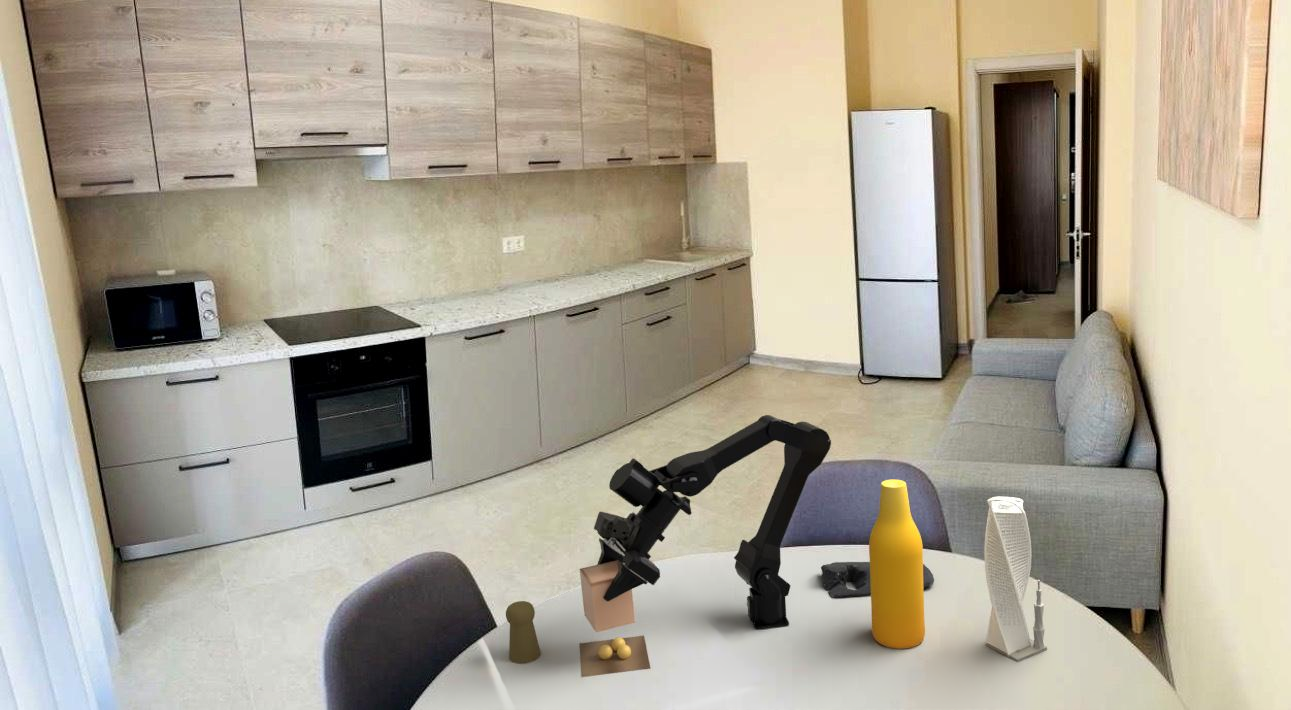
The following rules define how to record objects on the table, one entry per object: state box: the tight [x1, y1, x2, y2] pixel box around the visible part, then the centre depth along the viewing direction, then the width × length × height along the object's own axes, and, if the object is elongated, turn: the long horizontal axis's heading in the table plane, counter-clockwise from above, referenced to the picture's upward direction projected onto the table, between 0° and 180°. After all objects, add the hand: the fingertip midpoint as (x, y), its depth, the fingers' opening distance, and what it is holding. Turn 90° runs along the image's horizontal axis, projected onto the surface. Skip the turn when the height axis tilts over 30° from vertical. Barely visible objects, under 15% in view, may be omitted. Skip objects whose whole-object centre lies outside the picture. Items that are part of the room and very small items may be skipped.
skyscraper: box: [984, 496, 1048, 663], centre depth 163 cm, size 8×8×28 cm
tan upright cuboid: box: [579, 560, 636, 633], centre depth 170 cm, size 7×7×9 cm
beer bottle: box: [868, 479, 926, 650], centre depth 169 cm, size 9×9×29 cm
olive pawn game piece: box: [505, 600, 542, 665], centre depth 173 cm, size 6×6×11 cm
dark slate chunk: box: [820, 561, 935, 599], centre depth 194 cm, size 15×22×5 cm
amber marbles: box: [599, 637, 631, 660], centre depth 171 cm, size 6×6×2 cm
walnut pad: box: [579, 635, 651, 678], centre depth 172 cm, size 12×12×1 cm
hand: (599, 591), depth 169 cm, fingers closed on tan upright cuboid, 7 cm apart
